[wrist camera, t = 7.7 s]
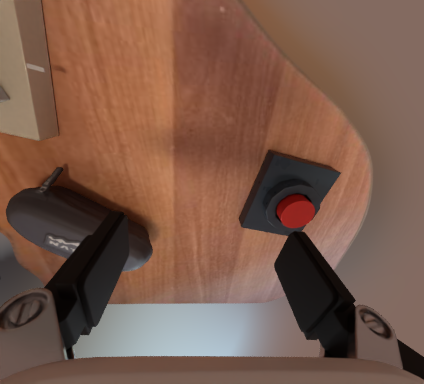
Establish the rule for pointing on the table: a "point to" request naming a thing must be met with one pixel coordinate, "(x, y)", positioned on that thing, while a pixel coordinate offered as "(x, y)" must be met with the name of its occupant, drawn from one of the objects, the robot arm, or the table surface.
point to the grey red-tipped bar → (3, 96)
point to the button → (295, 211)
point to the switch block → (284, 190)
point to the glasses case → (68, 221)
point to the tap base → (25, 72)
